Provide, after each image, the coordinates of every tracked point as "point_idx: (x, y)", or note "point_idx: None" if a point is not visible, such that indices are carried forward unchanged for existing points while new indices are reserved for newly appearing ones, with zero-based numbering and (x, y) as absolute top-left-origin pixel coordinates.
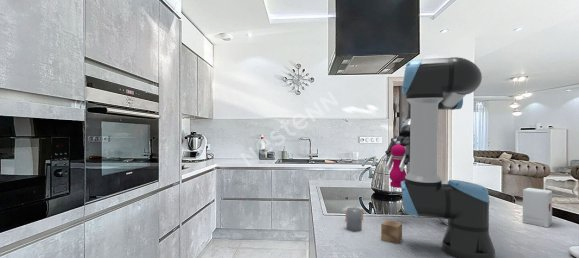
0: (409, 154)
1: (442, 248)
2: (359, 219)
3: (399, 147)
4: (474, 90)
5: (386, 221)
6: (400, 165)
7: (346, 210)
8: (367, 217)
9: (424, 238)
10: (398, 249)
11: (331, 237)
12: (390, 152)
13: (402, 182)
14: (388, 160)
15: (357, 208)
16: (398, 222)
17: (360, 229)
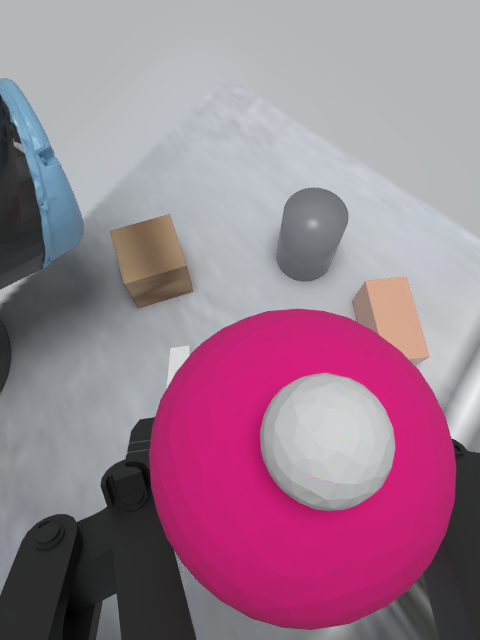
0: (106, 545)
1: (1, 324)
2: (280, 230)
3: (211, 348)
4: None
5: (175, 253)
6: (180, 358)
7: (405, 280)
8: None
9: (84, 377)
10: (103, 225)
11: (286, 152)
12: (471, 475)
13: (7, 84)
14: None
15: (320, 236)
16: (136, 277)
17: (277, 257)
